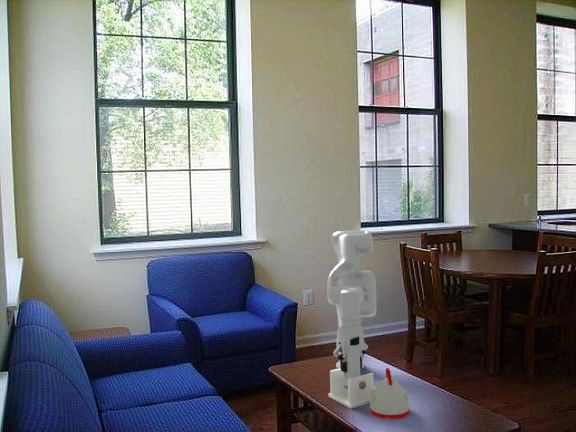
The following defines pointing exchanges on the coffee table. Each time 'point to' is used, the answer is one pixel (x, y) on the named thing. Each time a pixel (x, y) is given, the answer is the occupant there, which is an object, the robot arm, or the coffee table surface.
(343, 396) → the holder
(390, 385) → the kitchen timer
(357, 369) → the travel mug
